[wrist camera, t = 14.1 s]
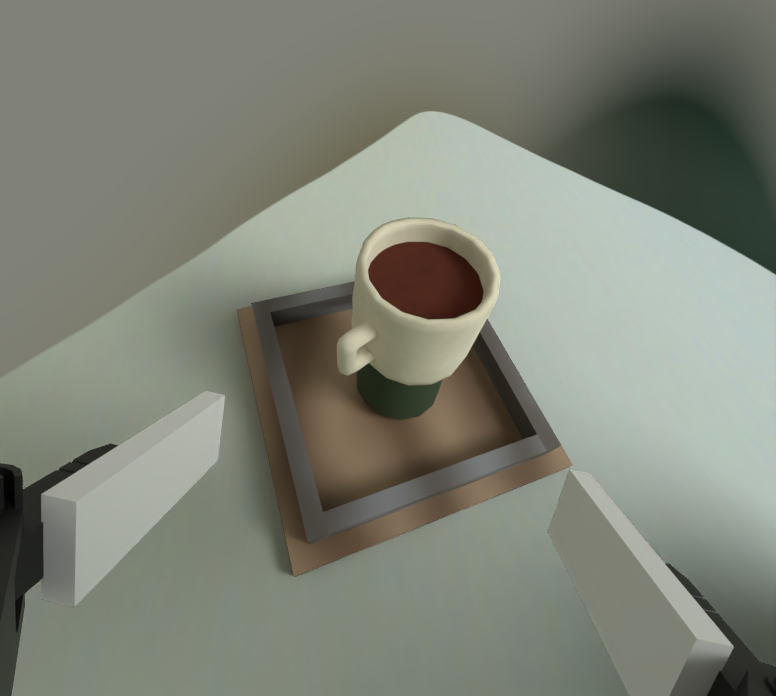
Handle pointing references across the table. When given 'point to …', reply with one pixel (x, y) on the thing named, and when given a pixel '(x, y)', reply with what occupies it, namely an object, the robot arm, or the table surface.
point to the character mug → (415, 312)
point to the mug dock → (381, 433)
